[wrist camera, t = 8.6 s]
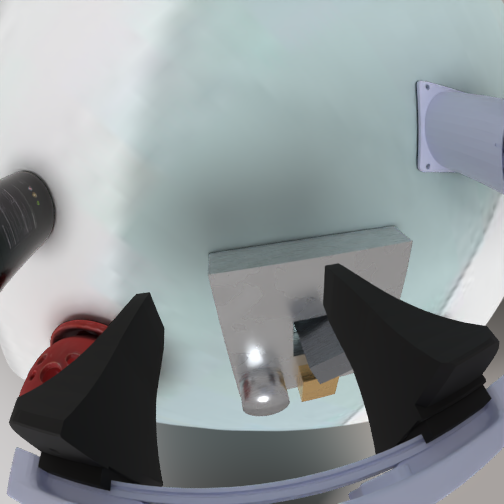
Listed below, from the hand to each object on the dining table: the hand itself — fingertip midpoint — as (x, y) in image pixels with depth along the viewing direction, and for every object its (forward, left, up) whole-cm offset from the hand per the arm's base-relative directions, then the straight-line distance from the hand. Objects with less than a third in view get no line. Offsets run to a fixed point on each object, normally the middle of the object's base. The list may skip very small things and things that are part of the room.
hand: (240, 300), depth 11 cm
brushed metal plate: (-6, +11, -10) cm, 16 cm away
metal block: (-6, +11, -10) cm, 16 cm away
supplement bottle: (+17, -4, -10) cm, 20 cm away
